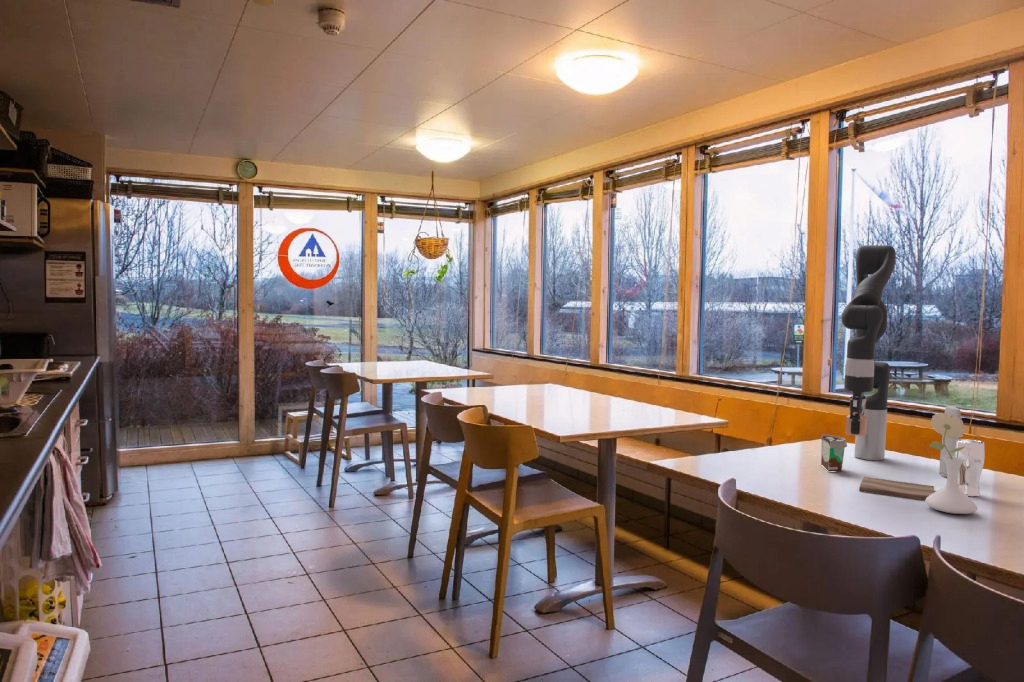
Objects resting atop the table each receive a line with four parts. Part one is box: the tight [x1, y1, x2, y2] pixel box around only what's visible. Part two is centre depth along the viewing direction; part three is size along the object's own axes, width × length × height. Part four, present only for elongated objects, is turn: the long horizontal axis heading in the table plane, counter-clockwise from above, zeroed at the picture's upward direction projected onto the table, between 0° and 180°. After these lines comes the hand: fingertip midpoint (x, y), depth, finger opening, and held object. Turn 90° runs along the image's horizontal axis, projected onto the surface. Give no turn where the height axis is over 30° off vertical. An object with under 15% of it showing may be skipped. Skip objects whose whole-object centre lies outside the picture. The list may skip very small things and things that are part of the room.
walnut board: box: [858, 476, 935, 501], centre depth 198 cm, size 14×18×1 cm
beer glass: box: [955, 438, 986, 497], centre depth 195 cm, size 7×7×15 cm
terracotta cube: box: [845, 414, 867, 436], centre depth 203 cm, size 5×5×5 cm
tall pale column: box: [938, 405, 963, 478], centre depth 215 cm, size 11×4×22 cm, turn 174°
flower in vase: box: [924, 412, 978, 515], centre depth 179 cm, size 13×11×25 cm
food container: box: [820, 433, 848, 472], centre depth 222 cm, size 12×6×10 cm, turn 168°
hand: (856, 432), depth 203 cm, fingers closed on terracotta cube, 5 cm apart
